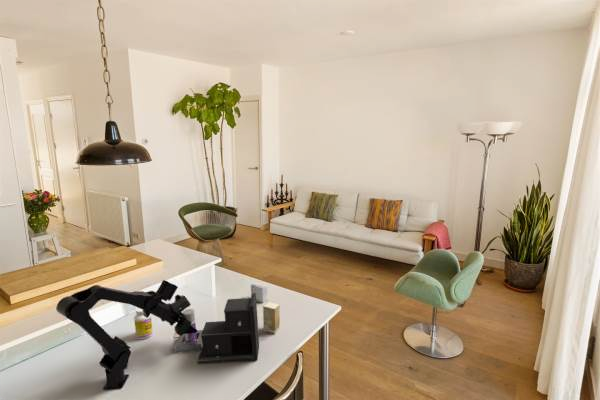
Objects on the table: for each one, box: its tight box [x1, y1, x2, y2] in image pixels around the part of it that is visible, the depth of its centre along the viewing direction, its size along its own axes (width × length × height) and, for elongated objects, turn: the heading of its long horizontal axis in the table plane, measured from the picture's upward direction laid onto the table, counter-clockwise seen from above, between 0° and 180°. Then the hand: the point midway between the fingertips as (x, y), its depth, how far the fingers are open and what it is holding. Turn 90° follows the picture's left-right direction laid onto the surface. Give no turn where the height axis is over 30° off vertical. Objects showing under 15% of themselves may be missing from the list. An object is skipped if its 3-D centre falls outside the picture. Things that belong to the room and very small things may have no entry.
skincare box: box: [262, 301, 281, 335], centre depth 151 cm, size 6×4×12 cm
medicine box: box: [250, 281, 269, 304], centre depth 179 cm, size 8×4×9 cm, turn 58°
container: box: [182, 308, 198, 342], centre depth 142 cm, size 5×5×15 cm
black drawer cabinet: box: [196, 293, 260, 365], centre depth 134 cm, size 23×11×24 cm, turn 93°
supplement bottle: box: [133, 307, 154, 340], centre depth 149 cm, size 7×7×13 cm
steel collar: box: [174, 329, 203, 353], centre depth 143 cm, size 10×10×3 cm
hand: (193, 326), depth 142 cm, fingers open, 9 cm apart
